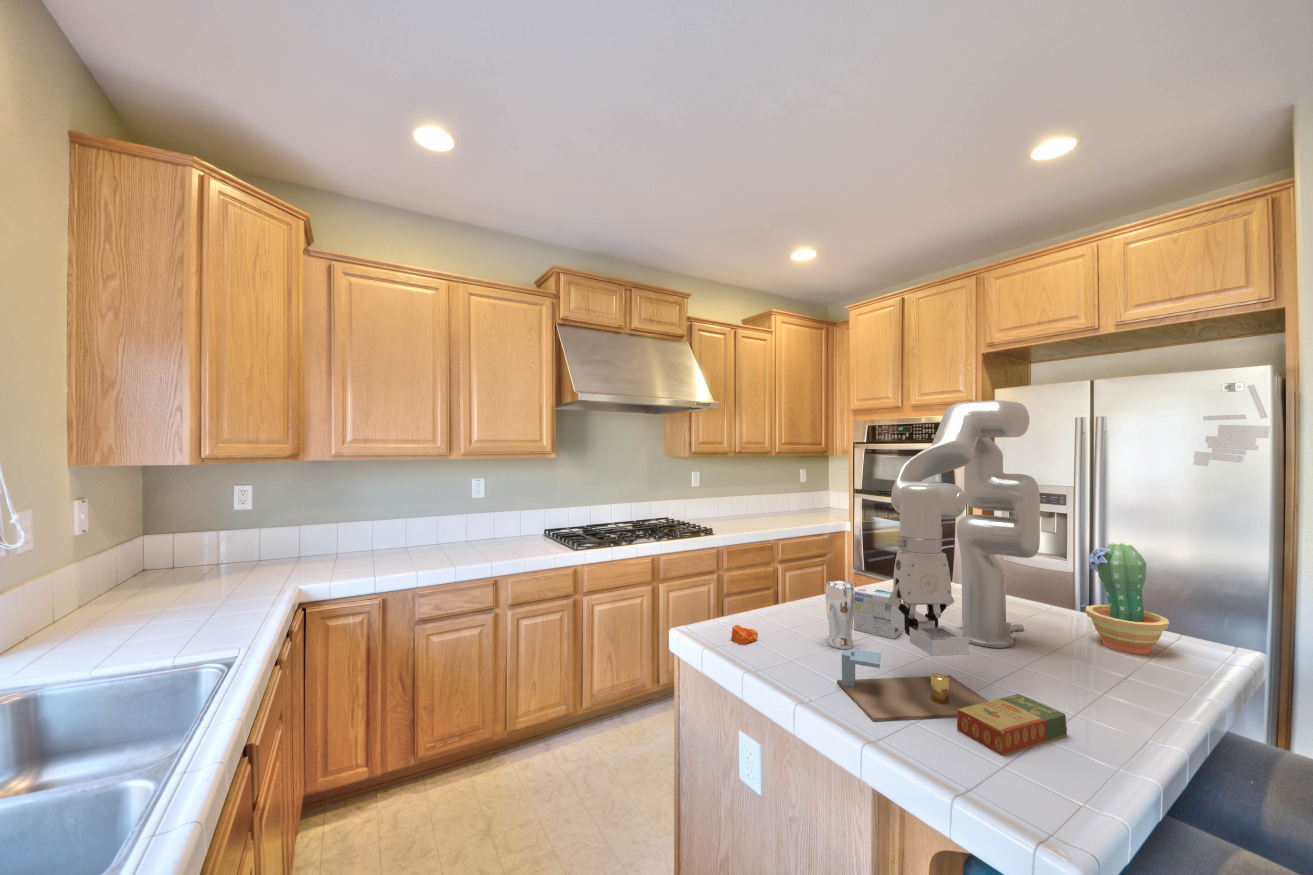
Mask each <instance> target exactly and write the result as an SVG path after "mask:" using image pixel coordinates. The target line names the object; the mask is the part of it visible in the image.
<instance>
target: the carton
mask: <svg viewBox="0 0 1313 875" xmlns="http://www.w3.org/2000/svg"><path fill="white" fill-rule="evenodd" d="M956 728H957V729H956V731H958V732H959V733H962V734H963V735H965V736H967V737H968V738H970V739H972V740H974V741H975V742H977V743H979V744H981V745H983V746H984V747H986V748H988V749H989V750H991V751H993V752H995V753H996V754H998V755H1000V756H1007V755H1010V754H1013V753H1016V752H1017V753H1018V752H1019V751H1023V750H1026V749H1028V748H1033V747H1035V746H1038V745H1042V744H1045V743H1048V742H1051V741H1055V740H1059V739H1062V738H1065V737H1068V736H1067V735H1068V731H1067V730H1068V727H1067V716H1066V714H1065V712H1062V711H1059V710H1057V709H1055V708H1052V707H1050V706H1048V705H1046V704H1043V703H1040V702H1039V701H1036V700H1034V699H1031V698H1029V697H1028V696H1024V695H1023V694H1020V693H1017V694H1012V695H1009V696H1004V697H1001V698H997V699H992V700H990V701H989V700H988V702H984V703H980V704H976V705H972V706H968V707H964V708H961V709H958V710H957V717H956Z"/></svg>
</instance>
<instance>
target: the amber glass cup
mask: <svg viewBox="0 0 1313 875" xmlns="http://www.w3.org/2000/svg"><path fill="white" fill-rule="evenodd" d="M930 676H931V699H932V701H934V702H936V703H939V704H948V703H949V678H948V677H947V676H946V675H945V674H943V673H931V674H930Z"/></svg>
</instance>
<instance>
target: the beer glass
mask: <svg viewBox="0 0 1313 875" xmlns="http://www.w3.org/2000/svg"><path fill="white" fill-rule="evenodd" d="M825 584H826V585H825V586H826V587H825V609H826V615H827V622H828V626H829V627H828V628H829V630H828V631H829V632H828V639H827V645H829V646H830V647H831V648H834V649H837V650H838V649H839V650H852V649H854V646H855V643H854V640H853V632H852V631H853V625H854V623H853V622H854V613H855V593H854V590H855V585H854V584H853V583H851V582H847V581H840V580H830V581H827V582H826V583H825Z"/></svg>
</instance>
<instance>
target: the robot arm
mask: <svg viewBox="0 0 1313 875" xmlns="http://www.w3.org/2000/svg"><path fill="white" fill-rule="evenodd" d="M1029 426H1030V413H1029V411H1028V409H1027V407H1026V406H1025V405H1024V404H1023V403H1021V402H1018V401H1011V400H1002V399H1001V400H1000V399H999V400H998V399H996V400H994V399H992V400H978V401H964V402H957V403H954V404H953V403H952V405H950V406H948V407H947V408H946V409H945V410H944V412H943V415H942V417H941V420H940V423H939V425H938V428H937V430H936V433H935V436H934V438H933V441H932V444H931V445H930V446H928V447H926V448H924V449H923V450H921V451H920V452H918V453H917V454H915V455H913V456H912V457H911V458H910V459H907V461H906V462H905V463H904V464H903V465H902V466H901V468H900V469H899V471H898V473H897V476H896V478H895V480H894V482H893V485H892V489H891V493H890V495H891V496H890V502H891V506H892V507H893V509H894V511H895V512H896V513H899V537H898V539H897V540H894V546H895V547H897V548H899V550H897V552H896V557H895V561H894V568H893V577H892V578H893V581H892V585H893V586H892V587H893V588H892V591H893V592H892V593H891V595H890V597H889V599H888V602H889V603H890V604H892V605H893V606H895V607H897V608H898V609H899V610H900V611H901V612H902V614H903V615H904V625H905V632H906V633H905V634H906V635H907V636H909V637H910V629H909V627H915V626H917V619H916V618H915V611H917V610H916V609H917V605H918V606H920V605H925V606H926V611H927V613H925V614H924V615H925V616H926V617H928V618H930V619H932V620H934V621H935V626H939V619H940V618H941V617H942V613H943V612H945V610H946V609H947V608H948V607H950V606H951V605H953V604H954V603H955V599H954V597H953V596H952V580H951V572H950V566H949V561H948V558H947V554H946V553H945V552H943V551H942V520H943V519H945V520H951V519H952V520H953V519H956V518H959V516H961V515H962V514H963V513H964V512H965V510H966V508H967V505H968V506H969V507H971V508H972V509H978V510H985V511H996V512H1007V513H1009V512H1010V513H1013V514H1014V516H1015V517H1010V516H1007V517H1006V516H999V515H990V514H987V515H986V514H968V515H965V516H963V517H961V518H960V519H959V520H958V521H957V523H956V538H957V541H958V547H959V552H960V563H961V564H960V565H961V568H960V569H961V616H962V617H961V619H962V620H961V622H962V623H961V624H962V625H961V626H959V627H957V628H955V632H957V633H959V634H960V635H962V636H964V637H966V638H968V639H969V644H972V645H976V646H980V647H986V648H993V649H994V648H995V649H997V648H998V649H1002V648H1003V649H1004V648H1010V647H1013V646H1014V645H1015V640H1014V637H1013V636H1012V634H1014V633H1024V632H1025V627H1024V625H1023V624H1019V623H1018V624H1017V623H1016V624H1012V623H1011V622H1007V594H1006V593H1007V592H1006V591H1007V590H1006V589H1007V588H1006V587H1007V586H1006V571H1005V568H1004V567H1003V565H1002V563H1001V562H1000V561H999V560H998V558H997V557H996V556H995V555H997V556H998V555H1000V556H1006V557H1016V558H1021V559H1023V558H1025V559H1030V558H1034V557H1035V556H1037V554H1038V552H1039V550H1040V543H1041V496H1040V488H1039V485H1038V482H1037V481H1036V479H1035V478H1034V477H1032V476H1030V475H1028V474H1023V473H1005V471H1004V454H1003V452H1002V450H1001V448H1000V447H999V446H998V445H997V444H996V442H994V441H993V440H992V439H991V438H995V439H996V438H1019V437H1020V438H1021V437H1023V436H1024V435H1025V434H1026V433H1027V431H1028V429H1029ZM963 467H964V471H963V472H964V474H963V475H964V476H963V479H964V481H963V489H962V488H961V487H960V486H958V485H956V484H954V483H950V482H949V483H947V482H932V481H924V480H926V479H929V478H932V477H934V476H937V475H940V474H945V473H948V472H950V471H953V470H958V469H960V468H963ZM899 599H901V600H902V603H900V602H899Z"/></svg>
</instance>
